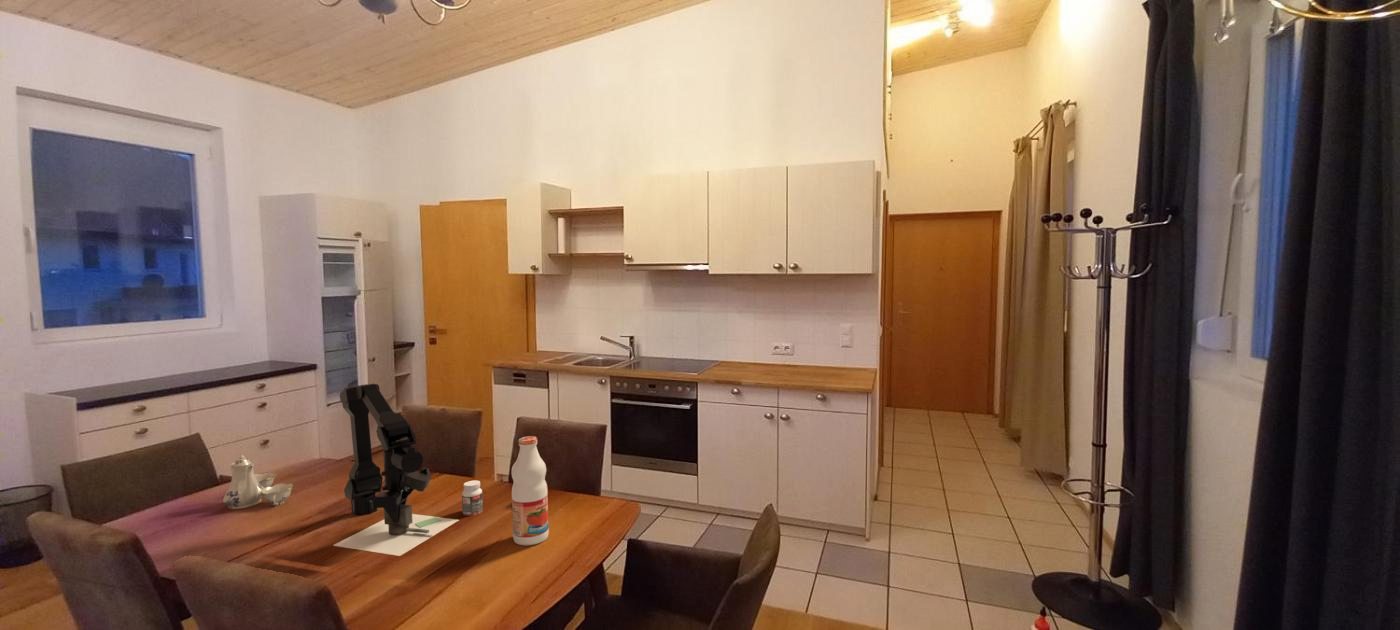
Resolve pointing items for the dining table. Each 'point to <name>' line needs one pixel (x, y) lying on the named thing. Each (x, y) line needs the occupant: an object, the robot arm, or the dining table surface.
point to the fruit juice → (529, 495)
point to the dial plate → (396, 536)
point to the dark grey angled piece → (402, 521)
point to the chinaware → (253, 486)
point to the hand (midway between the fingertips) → (398, 519)
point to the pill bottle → (472, 498)
